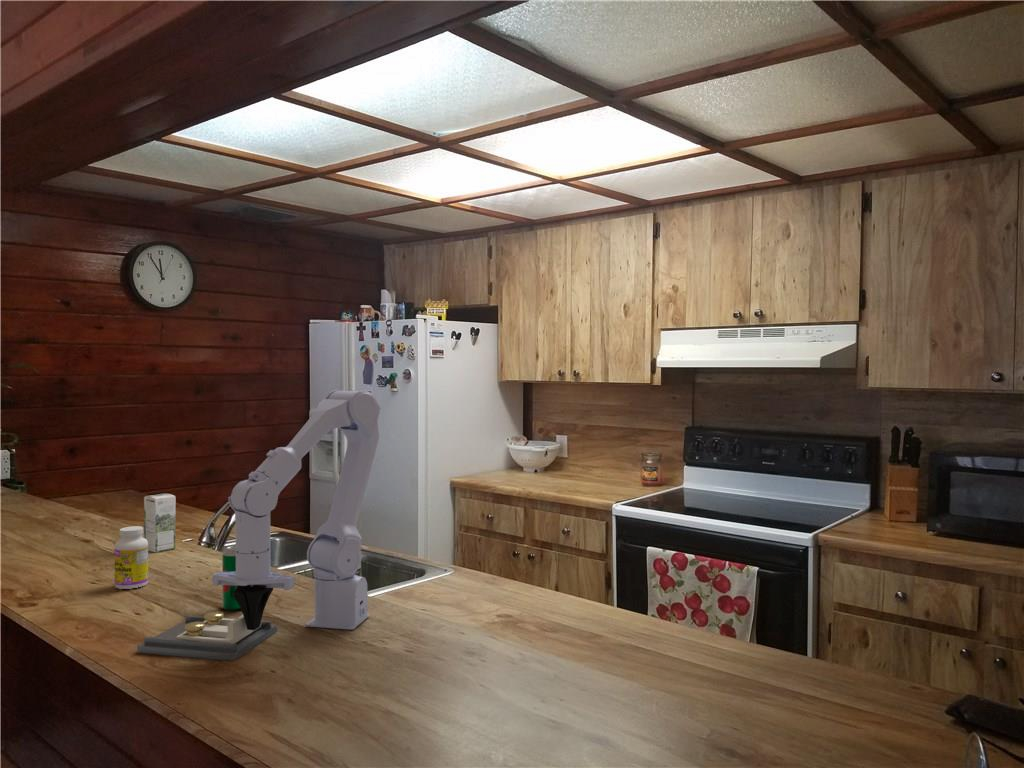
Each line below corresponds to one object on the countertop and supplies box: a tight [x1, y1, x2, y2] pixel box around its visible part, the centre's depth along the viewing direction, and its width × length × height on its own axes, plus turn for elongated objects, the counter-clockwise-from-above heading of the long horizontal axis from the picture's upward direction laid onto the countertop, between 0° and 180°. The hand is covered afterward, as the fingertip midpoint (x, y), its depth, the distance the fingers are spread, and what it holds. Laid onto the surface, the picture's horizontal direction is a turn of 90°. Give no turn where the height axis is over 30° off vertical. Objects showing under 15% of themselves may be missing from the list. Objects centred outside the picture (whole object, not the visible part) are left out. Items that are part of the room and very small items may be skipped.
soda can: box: [221, 545, 241, 611], centre depth 149 cm, size 5×5×12 cm
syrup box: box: [143, 493, 177, 553], centre depth 197 cm, size 6×6×14 cm
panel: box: [176, 614, 261, 644], centre depth 130 cm, size 10×10×4 cm
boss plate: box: [136, 610, 278, 662], centre depth 130 cm, size 18×14×4 cm
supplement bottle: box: [114, 525, 149, 590], centre depth 164 cm, size 7×7×13 cm
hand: (253, 628), depth 129 cm, fingers closed
